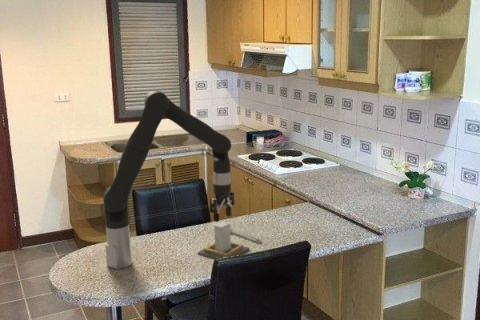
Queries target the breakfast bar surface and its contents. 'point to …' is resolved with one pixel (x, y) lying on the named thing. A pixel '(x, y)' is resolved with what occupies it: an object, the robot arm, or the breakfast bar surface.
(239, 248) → the picture frame
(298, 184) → the breakfast bar surface
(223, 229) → the skincare box
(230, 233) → the adjustable wrench
